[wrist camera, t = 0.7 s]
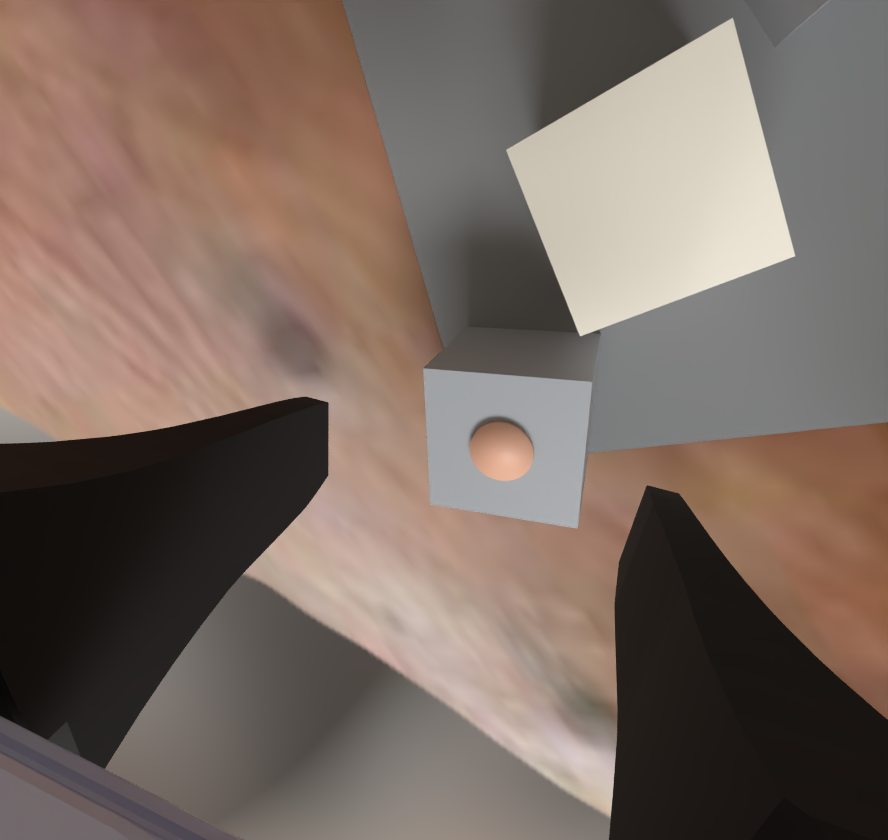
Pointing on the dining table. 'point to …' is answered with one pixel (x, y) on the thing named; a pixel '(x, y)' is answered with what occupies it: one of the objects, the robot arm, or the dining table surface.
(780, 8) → the dot block
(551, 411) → the dot block
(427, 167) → the felt mat
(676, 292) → the plain block
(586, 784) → the dining table surface
